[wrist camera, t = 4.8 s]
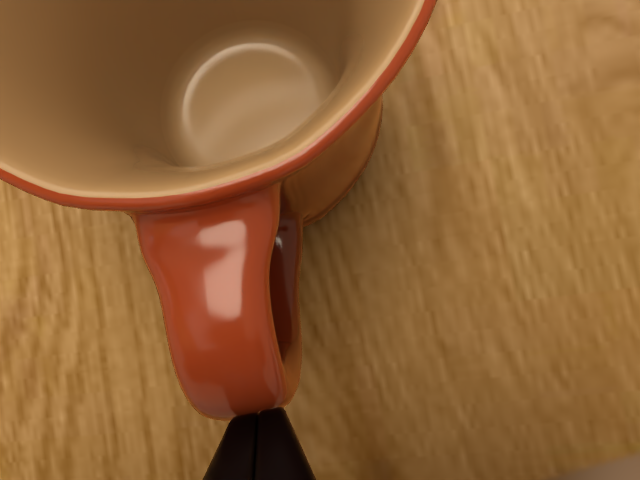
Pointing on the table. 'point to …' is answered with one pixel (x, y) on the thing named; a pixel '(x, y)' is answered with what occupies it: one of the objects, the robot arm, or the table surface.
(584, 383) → the table surface
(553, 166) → the table surface
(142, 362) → the table surface
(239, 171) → the mug
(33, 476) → the table surface
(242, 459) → the robot arm
